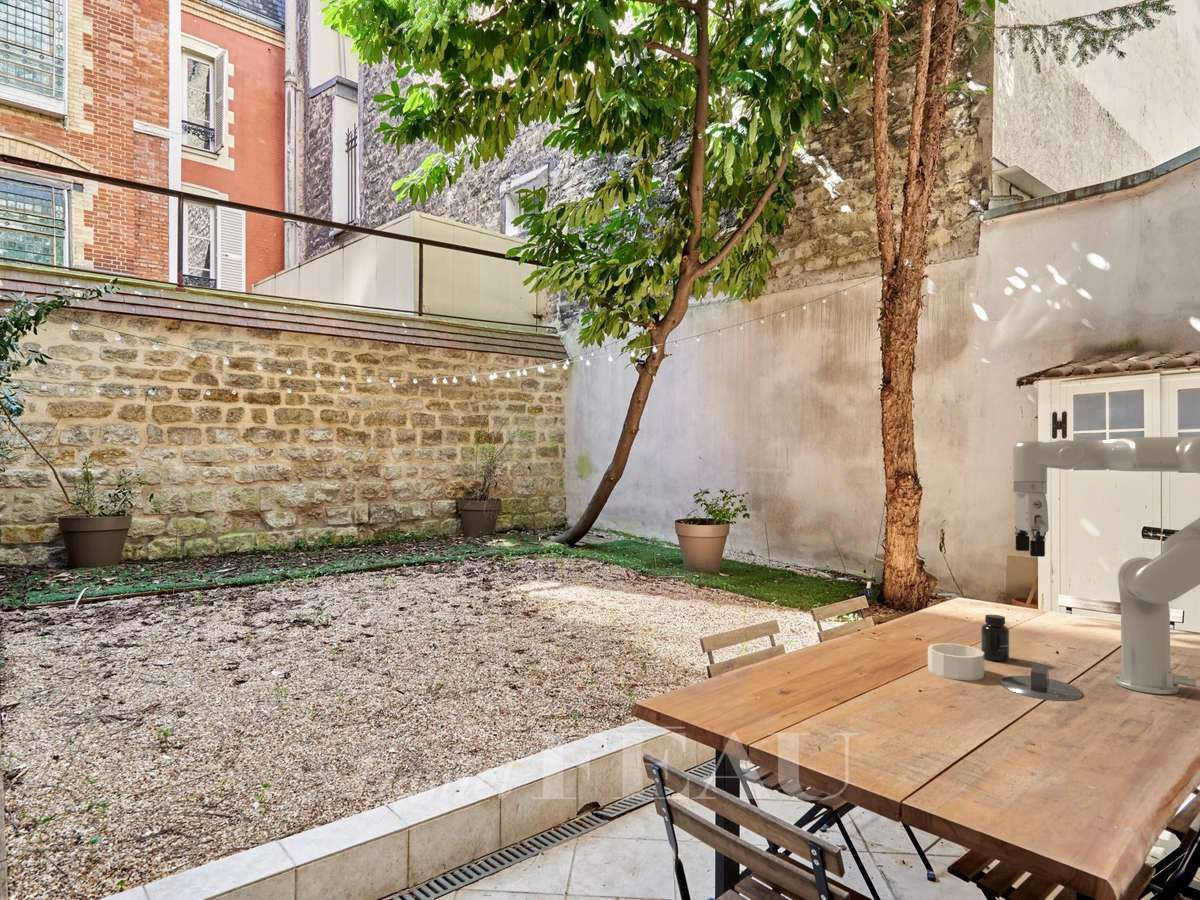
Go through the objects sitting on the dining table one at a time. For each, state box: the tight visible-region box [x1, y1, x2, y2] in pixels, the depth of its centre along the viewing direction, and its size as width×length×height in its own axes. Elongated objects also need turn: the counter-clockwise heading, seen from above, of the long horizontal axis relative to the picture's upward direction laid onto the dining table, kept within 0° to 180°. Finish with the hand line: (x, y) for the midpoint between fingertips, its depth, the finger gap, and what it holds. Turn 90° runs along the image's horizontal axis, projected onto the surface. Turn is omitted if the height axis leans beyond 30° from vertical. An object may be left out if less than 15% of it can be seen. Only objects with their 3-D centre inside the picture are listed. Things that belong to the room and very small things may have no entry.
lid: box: [999, 663, 1083, 702], centre depth 169 cm, size 17×17×5 cm
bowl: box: [927, 642, 986, 681], centre depth 182 cm, size 13×13×6 cm
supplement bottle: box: [980, 614, 1010, 663], centre depth 193 cm, size 7×7×12 cm
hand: (1029, 553), depth 180 cm, fingers open, 9 cm apart
